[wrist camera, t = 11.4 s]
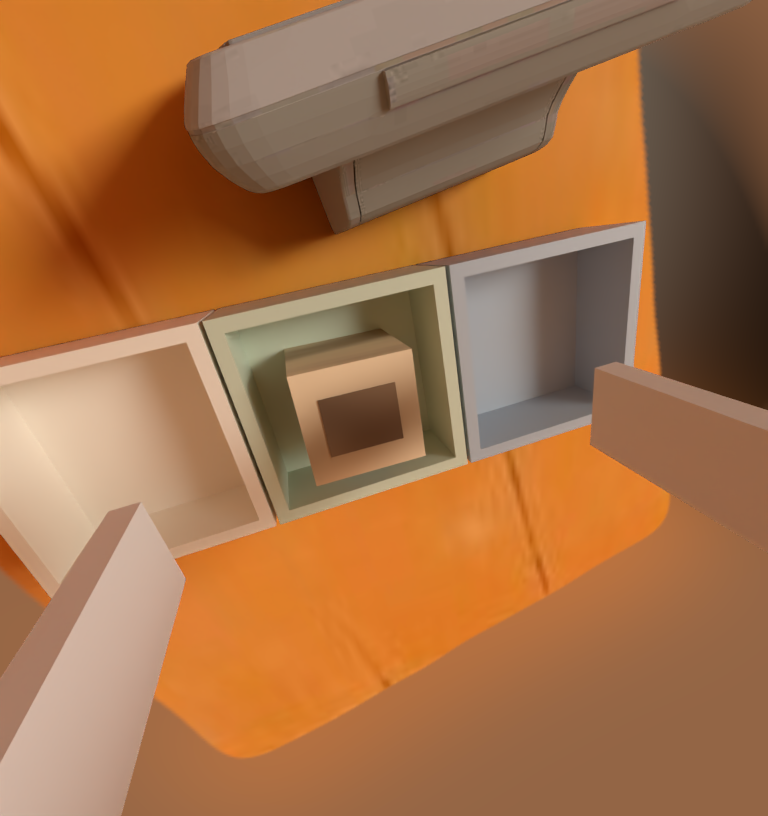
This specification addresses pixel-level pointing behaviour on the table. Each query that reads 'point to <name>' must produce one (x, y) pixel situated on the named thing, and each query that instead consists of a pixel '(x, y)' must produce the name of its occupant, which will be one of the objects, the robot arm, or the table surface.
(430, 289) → the box
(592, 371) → the box
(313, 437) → the letter cube
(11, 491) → the caddy cream
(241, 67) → the digital clock
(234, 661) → the table surface
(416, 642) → the table surface
